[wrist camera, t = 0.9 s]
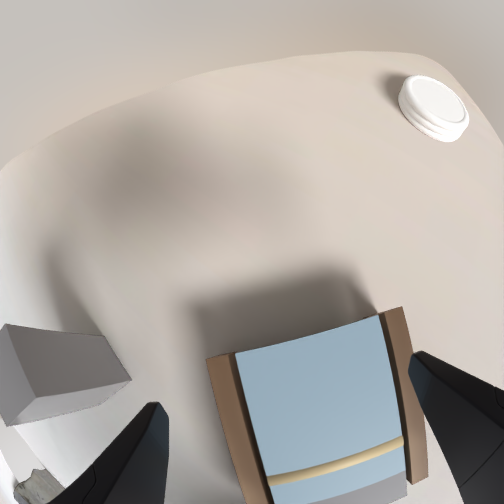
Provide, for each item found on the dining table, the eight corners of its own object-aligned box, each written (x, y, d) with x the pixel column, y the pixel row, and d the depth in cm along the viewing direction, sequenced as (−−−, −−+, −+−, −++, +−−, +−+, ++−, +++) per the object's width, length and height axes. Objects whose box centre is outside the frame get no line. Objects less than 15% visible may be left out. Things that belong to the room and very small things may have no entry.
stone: (132, 380, 22) (36, 397, 10) (100, 404, 22) (6, 426, 10) (104, 336, 24) (5, 323, 12) (74, 362, 23) (-21, 360, 11)
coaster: (387, 85, 31) (394, 67, 28) (443, 96, 30) (451, 81, 27) (411, 139, 28) (421, 120, 25) (469, 148, 27) (481, 133, 24)
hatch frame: (262, 511, 18) (259, 540, 13) (219, 355, 23) (205, 359, 18) (406, 469, 18) (428, 488, 13) (378, 313, 23) (402, 306, 18)
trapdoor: (283, 515, 16) (284, 534, 13) (240, 351, 21) (234, 353, 18) (394, 481, 16) (408, 496, 13) (364, 318, 21) (379, 314, 18)
